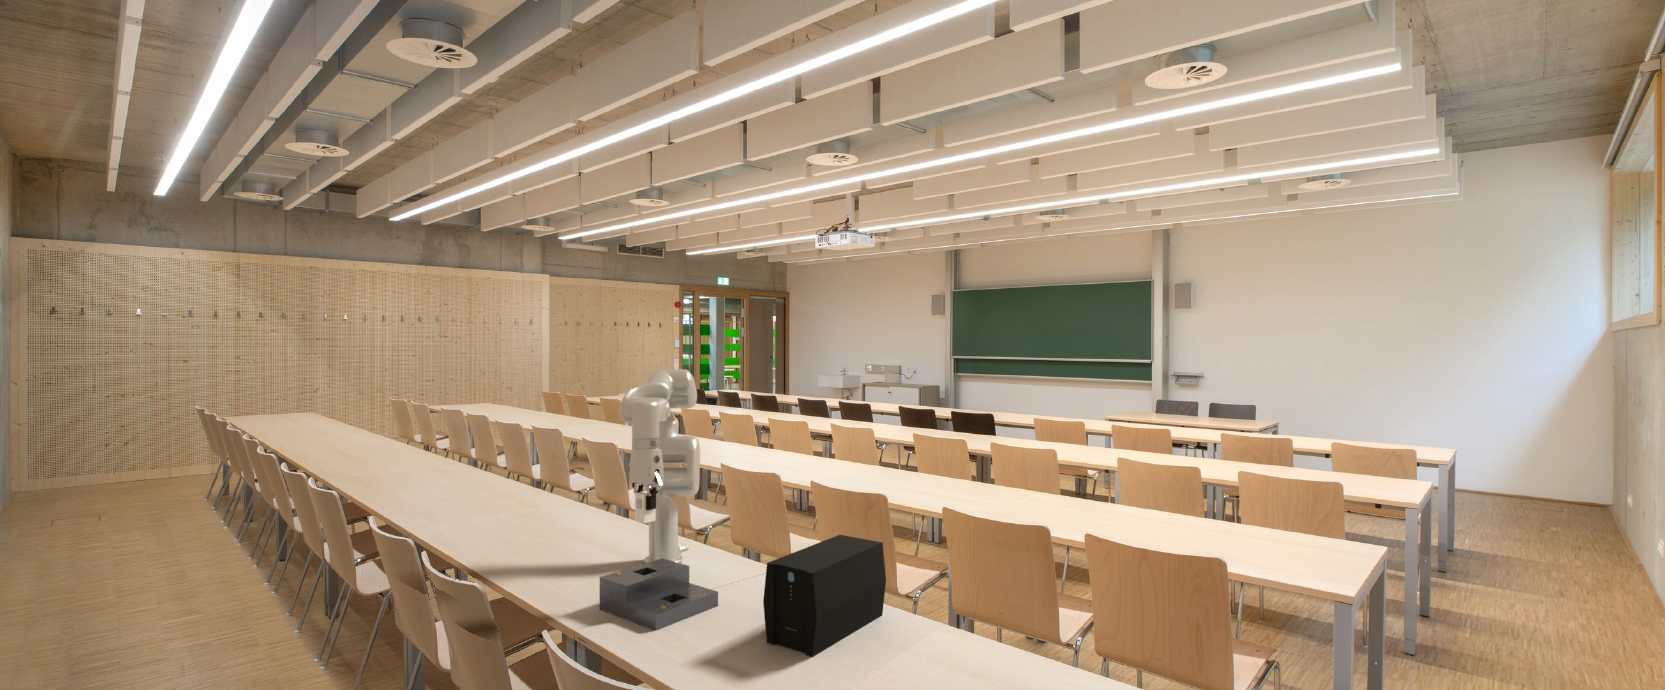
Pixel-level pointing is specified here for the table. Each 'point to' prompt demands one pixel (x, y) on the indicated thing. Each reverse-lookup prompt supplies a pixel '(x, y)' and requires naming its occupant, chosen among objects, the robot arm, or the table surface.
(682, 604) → the panel
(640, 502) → the plug
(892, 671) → the table surface
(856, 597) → the uninterruptible power supply
